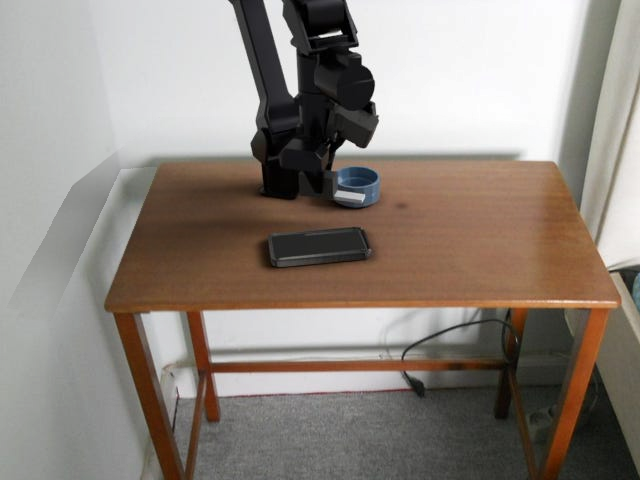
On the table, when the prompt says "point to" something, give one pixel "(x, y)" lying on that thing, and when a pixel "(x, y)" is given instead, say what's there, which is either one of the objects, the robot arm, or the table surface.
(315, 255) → the phone
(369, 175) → the bowl
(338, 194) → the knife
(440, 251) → the table surface
